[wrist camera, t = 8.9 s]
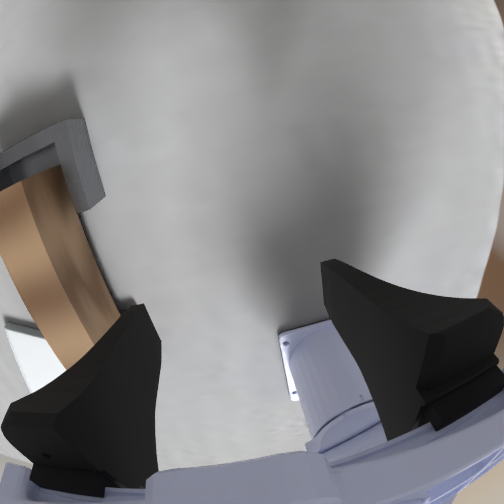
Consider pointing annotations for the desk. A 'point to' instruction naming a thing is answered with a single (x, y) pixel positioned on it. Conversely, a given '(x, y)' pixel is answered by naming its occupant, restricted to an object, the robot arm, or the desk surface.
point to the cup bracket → (57, 161)
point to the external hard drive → (33, 356)
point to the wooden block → (54, 265)
